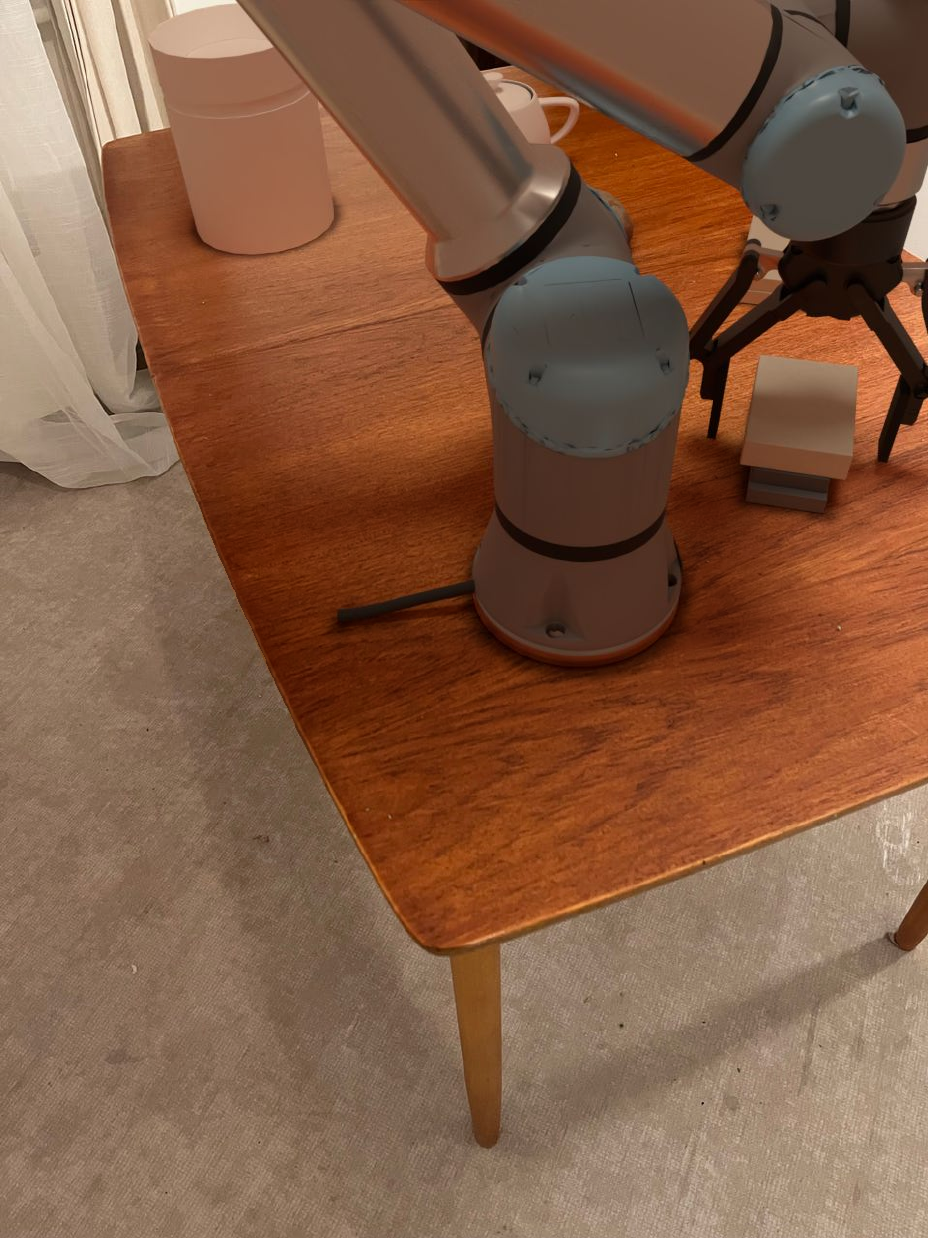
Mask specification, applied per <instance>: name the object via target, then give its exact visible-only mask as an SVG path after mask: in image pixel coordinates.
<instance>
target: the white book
mask: <svg viewBox="0 0 928 1238" xmlns="http://www.w3.org/2000/svg"><path fill="white" fill-rule="evenodd" d="M858 382H859V366H857V365H855V366H854V365H850V364H849V365H848V364H840V363H832V362H824V361H815V360H807V359H801V358H800V359H799V358H792V357H785V356H784V357H783V356H777V355H768V354H760V355H759V356H758V360H757V365H756V369H755V373H754V380H753V385H752V392H751V395H750V396H751V398H750V403H749V407H748V413H747V418H746V419H747V420H746V425H745V430H744V436H743V441H742V447H741V452H740V457H739V463H740V465H742V466H743V465H744V466H749V467H751V466H755V467H762V468H768V469H775V470H782V471H789V472H795V473H802V474H809V475H815V476H822V477H829V478H830V479H836V480H843V481H845V480H846V479H847V476H848V473H849V471H850V467H851V464H852V461H853V458H854V447H855V446H854V445H855V431H856V418H857V417H856V415H857V414H856V413H857V401H858Z"/></svg>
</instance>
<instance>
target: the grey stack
mask: <svg viewBox="0 0 928 1238" xmlns="http://www.w3.org/2000/svg"><path fill="white" fill-rule="evenodd" d="M830 483H831V478H829V477H822V476H815V475H809V474H802V473H795V472H789V471H782V470H775V469H768V468H762V467H755V466H750V471H749V477H748V483H747V489H746V495H745V496H746V497H745V502H747V503H754V504H761V505H766V506H772V507H780V508H785V509H793V510H797V511H798V510H799V511H805V512H811V513H816V514H817V513H818V514H824V511H825V508H826V505H827V501H828V494H829V493H828V492H829V485H830Z"/></svg>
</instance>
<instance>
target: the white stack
mask: <svg viewBox="0 0 928 1238" xmlns="http://www.w3.org/2000/svg"><path fill="white" fill-rule="evenodd" d="M749 225H750V226H749V230H748V235H747V239H746V242H747V241H748V240H749V239H752V238H753V239H758V240H759V241H760V242H761V245H762V246H761V247H764V248H769V249H774V250H779V251H783V250H784V249H785V248H786V246H787V245H788V243H789V241H790V239H787V238H784V237H781V236H779V235H778V234H776V233H774V232H772V231H771V230H770V229H768V228H767V227H766V226H765V225H764V224H763V223H762V221H761V220H760V219H759V218H758V217H756V216H755V215H753V214H752V219H751V222H750V224H749ZM782 282H783V281H782V279H781V277H780V276H779V273H778V270H771V271H769V272H768V273H767V274H766V275H765V277H764V278H762V279H760V280H759V281H755V280H753V281H752V284H751V286H750V288H749V290H748V291H747V293H746V294H745V296H744V297H743V298H742V300H741V301H740V302H739V303H743V304H752V305H758V304H759V303H760V302H762V301H763V300H764V299H766V298H767V297H768V296H769V295H771V294H772V293H773V291H774V290H775V289H776V287H777V286H779V285H780V284H781V283H782Z"/></svg>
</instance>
